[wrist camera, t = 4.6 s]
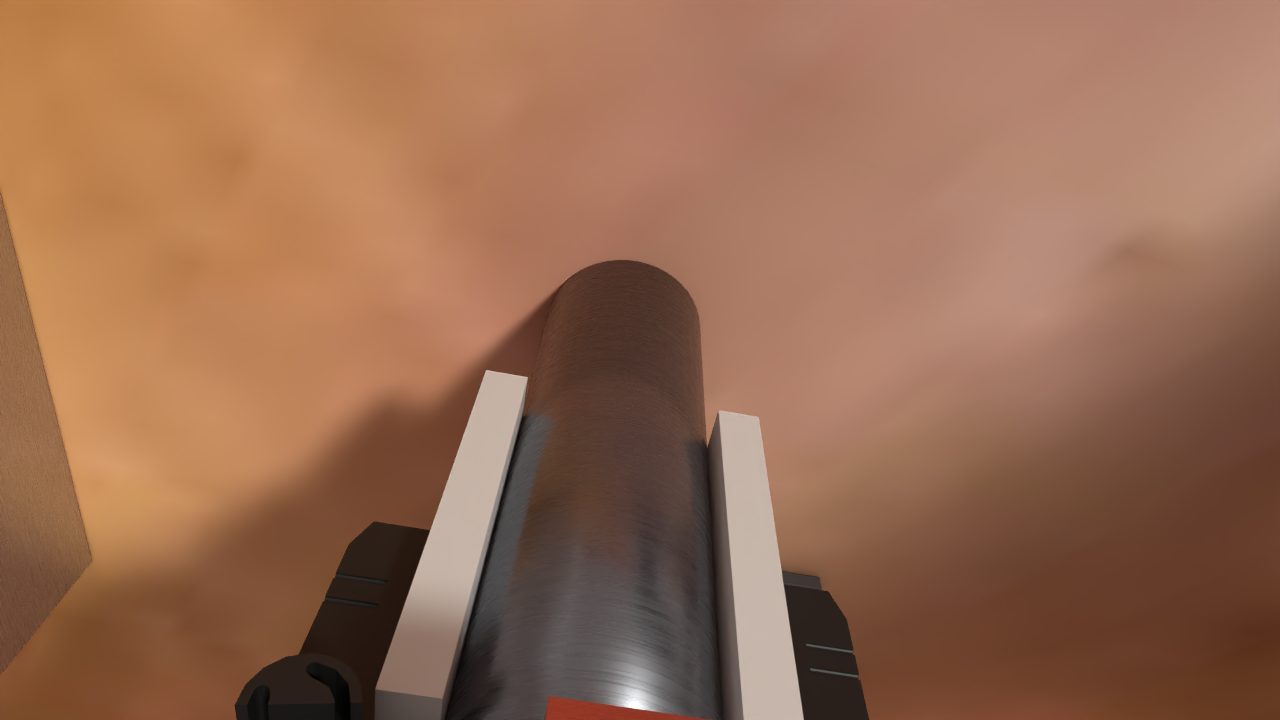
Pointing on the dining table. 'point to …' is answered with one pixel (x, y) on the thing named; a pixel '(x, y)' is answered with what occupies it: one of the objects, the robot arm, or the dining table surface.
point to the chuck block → (30, 476)
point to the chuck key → (603, 521)
